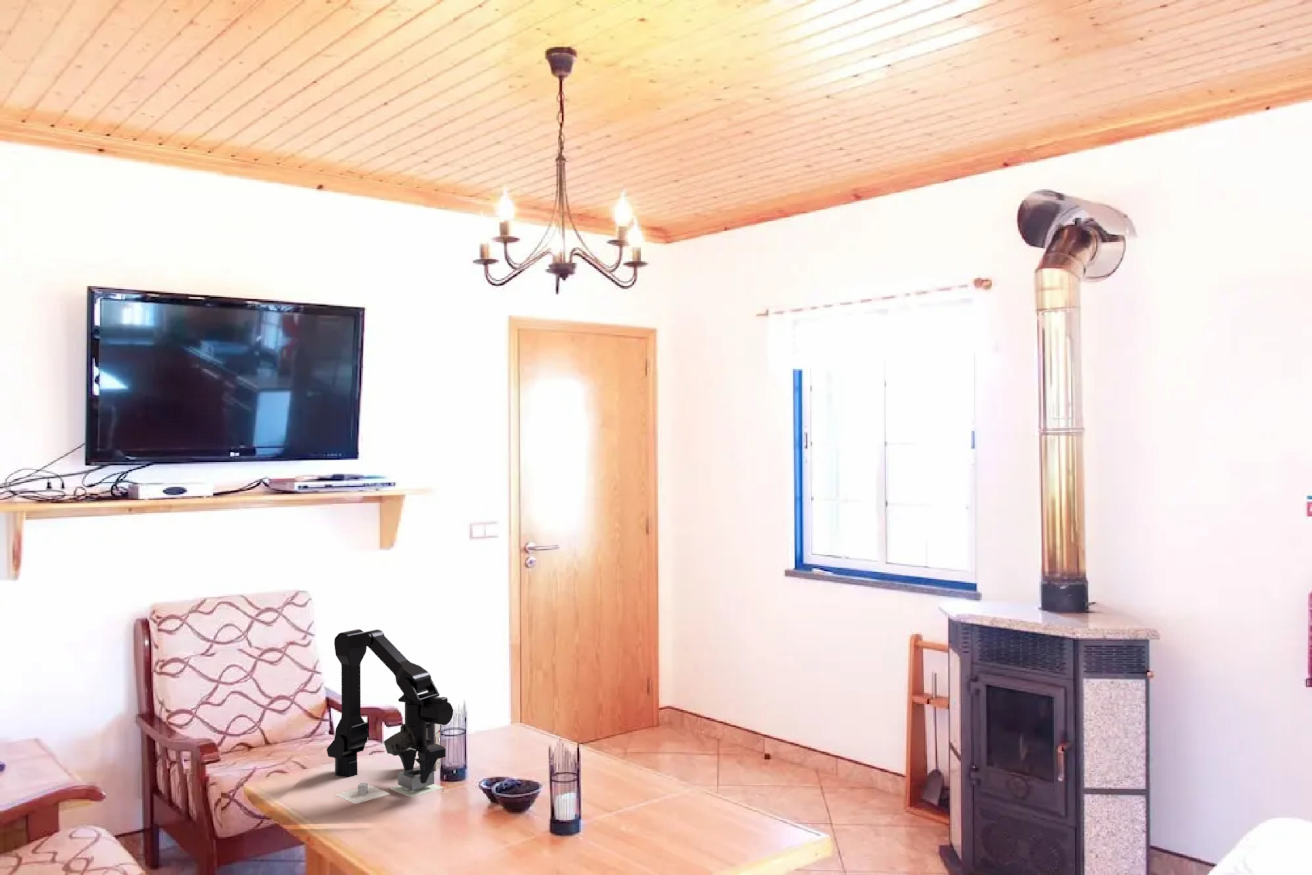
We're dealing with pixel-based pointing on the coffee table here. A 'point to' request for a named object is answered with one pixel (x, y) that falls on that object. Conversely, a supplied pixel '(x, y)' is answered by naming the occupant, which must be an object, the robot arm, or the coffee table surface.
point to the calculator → (434, 740)
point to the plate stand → (362, 793)
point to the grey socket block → (414, 779)
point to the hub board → (415, 792)
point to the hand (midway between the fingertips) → (416, 780)
